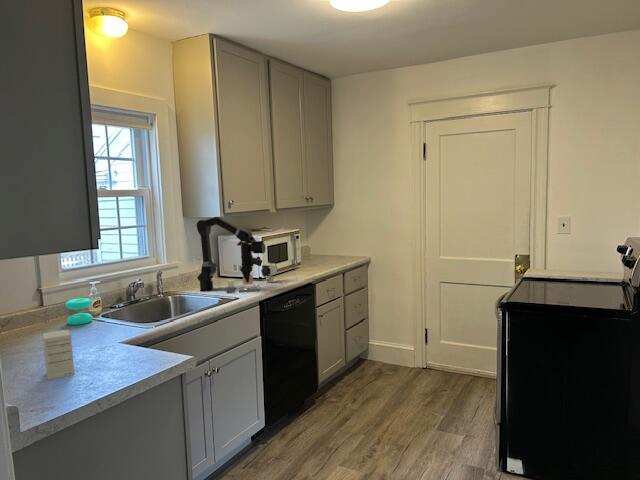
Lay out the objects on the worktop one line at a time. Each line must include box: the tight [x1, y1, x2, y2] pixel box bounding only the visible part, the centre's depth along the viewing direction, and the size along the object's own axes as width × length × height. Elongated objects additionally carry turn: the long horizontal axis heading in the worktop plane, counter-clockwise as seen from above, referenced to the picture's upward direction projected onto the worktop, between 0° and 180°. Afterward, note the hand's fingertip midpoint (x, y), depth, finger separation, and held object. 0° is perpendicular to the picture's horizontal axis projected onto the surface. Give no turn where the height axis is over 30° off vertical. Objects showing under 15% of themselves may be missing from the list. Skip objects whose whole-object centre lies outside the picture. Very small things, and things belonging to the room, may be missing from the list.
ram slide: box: [227, 279, 235, 287], centre depth 269 cm, size 3×3×4 cm
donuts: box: [65, 297, 94, 326], centre depth 206 cm, size 10×10×10 cm
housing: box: [242, 273, 254, 286], centre depth 262 cm, size 5×5×6 cm
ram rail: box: [225, 285, 236, 294], centre depth 265 cm, size 3×14×3 cm, turn 5°
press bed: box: [238, 286, 259, 293], centre depth 263 cm, size 10×8×1 cm
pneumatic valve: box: [260, 262, 278, 284], centre depth 284 cm, size 6×12×12 cm, turn 157°
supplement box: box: [42, 329, 75, 381], centre depth 144 cm, size 7×7×13 cm
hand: (247, 281), depth 262 cm, fingers closed on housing, 5 cm apart
